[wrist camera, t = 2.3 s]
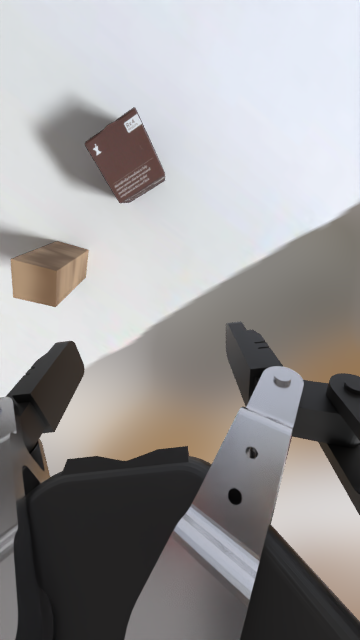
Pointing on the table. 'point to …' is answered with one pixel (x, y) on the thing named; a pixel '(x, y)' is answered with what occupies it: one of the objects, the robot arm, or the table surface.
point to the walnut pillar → (48, 273)
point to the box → (126, 157)
